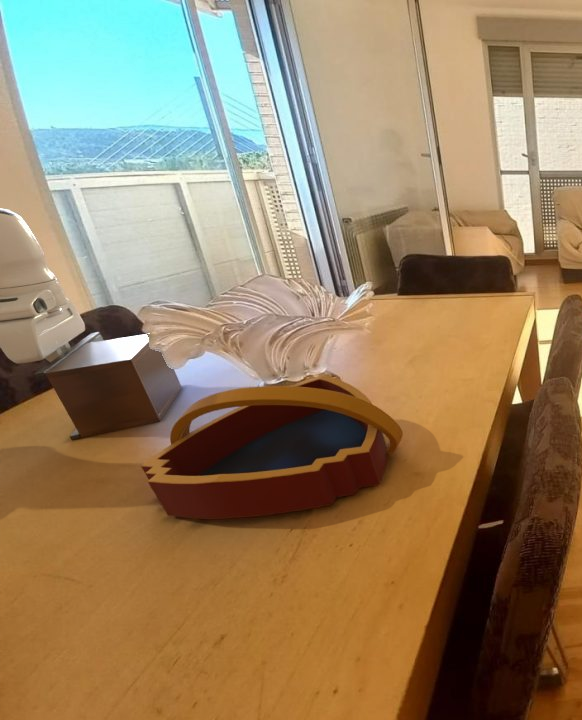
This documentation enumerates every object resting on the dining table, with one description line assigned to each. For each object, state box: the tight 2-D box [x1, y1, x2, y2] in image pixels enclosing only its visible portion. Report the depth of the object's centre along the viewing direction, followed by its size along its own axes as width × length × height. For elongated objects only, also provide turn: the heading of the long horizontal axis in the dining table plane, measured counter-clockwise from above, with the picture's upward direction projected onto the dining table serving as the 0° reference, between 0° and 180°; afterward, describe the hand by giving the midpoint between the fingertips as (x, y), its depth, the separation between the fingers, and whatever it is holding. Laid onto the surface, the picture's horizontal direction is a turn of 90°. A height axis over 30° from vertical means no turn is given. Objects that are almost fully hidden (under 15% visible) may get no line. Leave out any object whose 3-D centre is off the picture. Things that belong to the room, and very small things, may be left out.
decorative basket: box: [140, 374, 404, 520], centre depth 73 cm, size 34×29×15 cm
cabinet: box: [33, 331, 183, 441], centre depth 95 cm, size 12×25×13 cm, turn 30°
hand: (66, 368), depth 91 cm, fingers closed
